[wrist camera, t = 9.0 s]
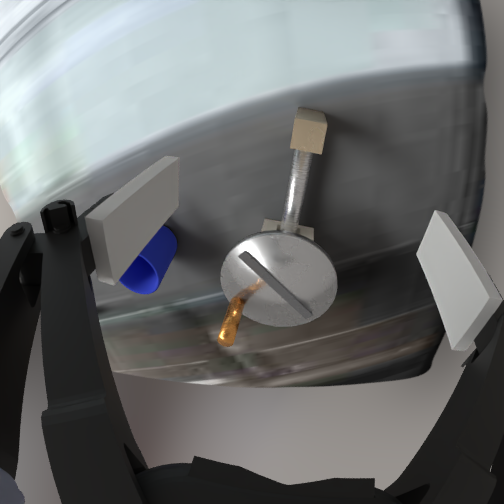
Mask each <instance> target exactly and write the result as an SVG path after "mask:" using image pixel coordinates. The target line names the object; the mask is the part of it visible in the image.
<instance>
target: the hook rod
mask: <svg viewBox="0 0 504 504" xmlns="http://www.w3.org/2000/svg"><path fill="white" fill-rule="evenodd" d="M327 125H328V124H327V121H326V119H325V116H324V113H323V112H321V111H316V110H311V109H306V108H301V107H298V110H297V113H296V117H295V121H294V128H293V134H292V140H291V146H290V148H291V149H294V155H293V161H292V166H291V172H290V178H289V183H288V189H287V194H286V200H285V205H284V211H283V216H282V221H281V227H280V230H283V231H289V232H294V233H297V229H298V224H299V220H300V215H301V211H302V206H303V201H304V197H305V192H306V187H307V182H308V177H309V172H310V168H311V163H312V157H313V153H317V154H321V155H322V150H323V145H324V140H325V135H326V130H327Z"/></svg>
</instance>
